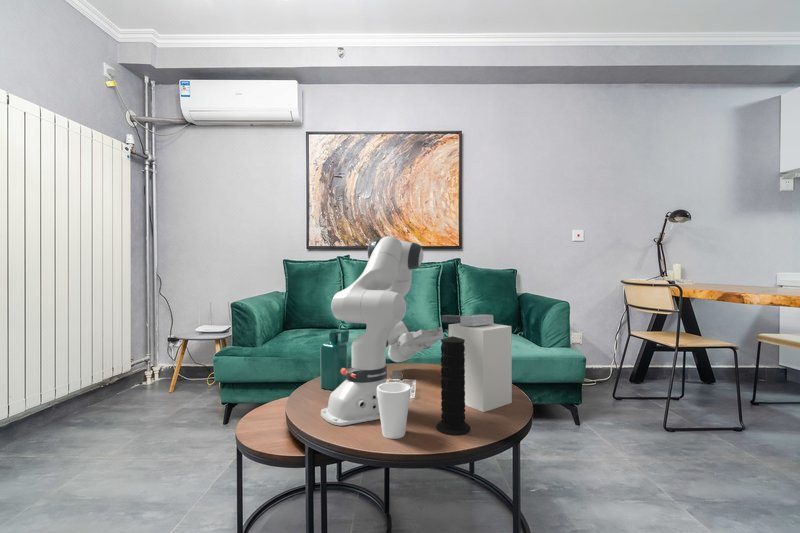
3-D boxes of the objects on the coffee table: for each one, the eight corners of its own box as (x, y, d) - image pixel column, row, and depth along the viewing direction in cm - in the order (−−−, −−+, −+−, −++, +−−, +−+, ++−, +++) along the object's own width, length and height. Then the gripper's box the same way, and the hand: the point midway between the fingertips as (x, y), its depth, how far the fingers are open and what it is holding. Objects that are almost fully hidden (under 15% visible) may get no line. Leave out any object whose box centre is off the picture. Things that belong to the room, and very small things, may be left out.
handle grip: (429, 424, 116) (446, 438, 107) (429, 334, 116) (446, 340, 107) (458, 418, 120) (477, 431, 111) (458, 332, 120) (477, 337, 111)
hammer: (473, 326, 131) (472, 317, 131) (434, 323, 147) (433, 315, 148) (493, 323, 137) (493, 314, 137) (453, 321, 153) (453, 313, 153)
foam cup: (379, 442, 104) (379, 393, 104) (374, 428, 113) (374, 383, 113) (414, 439, 106) (414, 391, 106) (406, 425, 115) (406, 381, 115)
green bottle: (318, 388, 151) (317, 330, 151) (331, 382, 158) (331, 327, 158) (339, 391, 146) (338, 332, 146) (352, 385, 154) (351, 329, 154)
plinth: (483, 412, 125) (483, 330, 125) (448, 398, 138) (448, 324, 138) (511, 402, 134) (511, 326, 133) (476, 390, 146) (476, 321, 146)
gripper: (391, 338, 161) (408, 325, 151) (429, 333, 173) (447, 320, 163) (395, 353, 159) (413, 340, 149) (434, 346, 171) (453, 334, 161)
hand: (431, 329), depth 156 cm, fingers open, 8 cm apart
